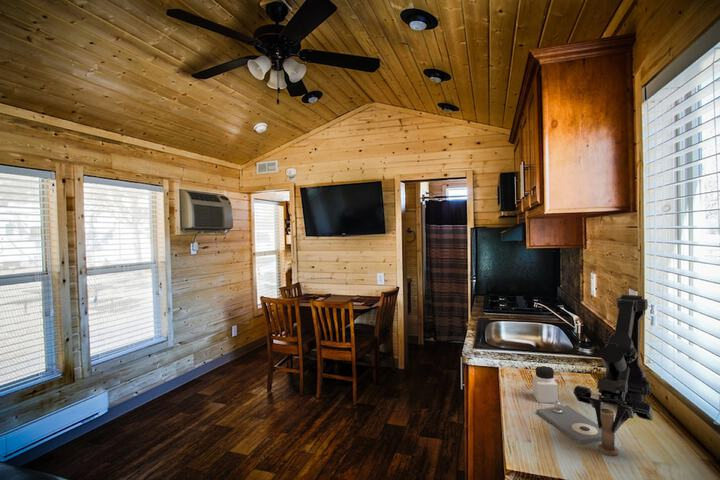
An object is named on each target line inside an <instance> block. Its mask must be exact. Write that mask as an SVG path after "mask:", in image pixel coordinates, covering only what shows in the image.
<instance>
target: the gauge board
mask: <svg viewBox="0 0 720 480" xmlns="http://www.w3.org/2000/svg"><path fill="white" fill-rule="evenodd" d="M553 408H555V406H554V407H545V408H539V409H536V414H537V415H538V416H540V417H541V418H543V419H544V418H545V419H544V420H546V421H547V420H548V421H549V423H550V424H551V423H552V424H551V425H552V426H554V427H555V428H556V429H558V430H559V429H560V430H559V431H561V432H562V433H564V434H565V435H567V436H568V437H569V438H571V439H572V440H573V441H574V442H576V443H577V444H579V445H583V444H591V443H597V442H602V429H599V427H598V423H596V422H595V421H592V420H591V419H590V418H589V417H586V416H585V415H583V414H582V413H580V412H578V411H576V409H574V408H572V407H570V406H569V405H561V409H562V410H563V413H562V414H558V413H555V412H553ZM548 421H547V422H548ZM615 439H616V434H614V440H615Z"/></svg>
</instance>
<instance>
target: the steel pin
mask: <svg viewBox="0 0 720 480" xmlns="http://www.w3.org/2000/svg"><path fill="white" fill-rule="evenodd" d="M553 404H554V407H555V408H553V407H552V408H553V412H555V413H558V414H562V413H563V410H562V409H561V406H562V402H561V401H560V400H558V401H554V403H553Z"/></svg>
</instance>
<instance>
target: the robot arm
mask: <svg viewBox="0 0 720 480" xmlns="http://www.w3.org/2000/svg"><path fill="white" fill-rule="evenodd" d="M615 299H616V301H615V302H616V303H615V304H616V305H615V306H616V309H618V311H617V319H616V324H615V330H614V333H613V334H612V335H611V336H609V337H608V340H607V343H606V344H605V345H604V346H603V347H602V348H601V350H600V351H599V356H600V358H601V361H602V364H603V366H604V369H605V373H604V376H603V377H597V384H596V389H598V393H596V392H595V393H594V392H592V390H591V388H589V387H586V386H583V385H582V386H581V385H577V386H575V387H574V388H573V394H574V396H575V398H576V399H577V401H578V402H581V403H584V404H588V405H591V407H592V408H593V409H594V411H595V415H596V421H597V424H598V427H599V429H601V409H605V408H604V406H603V404H607V405H609V406H615V407H617V408H616V413H615V417H614V423H613V428H612V432H613V433H614V434H615V433H616V432H617V431H618V430H619V429H620V427H621V426H622V425H623V424H624V423H625V422H626V421H628V420H629V419H634V414H635V415H636V416H637V417H638V418H639V419H643V420H647V421H653V419H654V410H653V409H652V405H651V404H650V403H649V402H647V401H646V398H645V397H646V396H648V395H649V396H651V385H650V381H648V378H647V377H646V371H645V370H644V368H643V366H642V365H641V363H640V350H641V349H640V344H641V343H640V338H641V336H640V332H641V331H640V326H641V324H640V323H641V320H642V319H643V318H644V316H645V315H646V311H647V310H648V306H649V303H648V299H645V297H644V296H643V295H637V294H635V295H634V294H621V296H617V297H616V298H615Z"/></svg>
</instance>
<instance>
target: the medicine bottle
mask: <svg viewBox="0 0 720 480" xmlns="http://www.w3.org/2000/svg"><path fill="white" fill-rule="evenodd" d="M554 371H555V370H554V368H552V367H551V366H549V365H538V366H536V367H535V376H532V393H533V396H534V398H535V399H536V401H537V403H541V404H542V403H545V404H546V403H547V404H554V401H559V384H558V382H556V380H555V373H554Z"/></svg>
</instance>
